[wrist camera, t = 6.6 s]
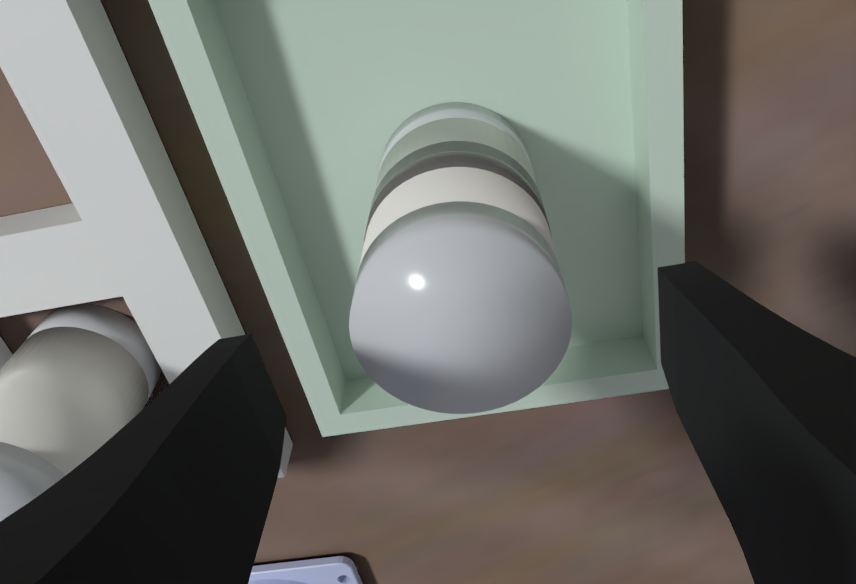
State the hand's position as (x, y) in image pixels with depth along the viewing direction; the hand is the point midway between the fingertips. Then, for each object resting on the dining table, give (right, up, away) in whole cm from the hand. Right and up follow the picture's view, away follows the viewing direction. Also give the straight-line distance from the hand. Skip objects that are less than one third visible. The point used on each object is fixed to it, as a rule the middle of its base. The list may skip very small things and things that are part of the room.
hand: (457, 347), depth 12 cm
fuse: (-11, -1, +10) cm, 15 cm away
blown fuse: (0, +4, +6) cm, 7 cm away
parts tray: (0, +4, +6) cm, 8 cm away
